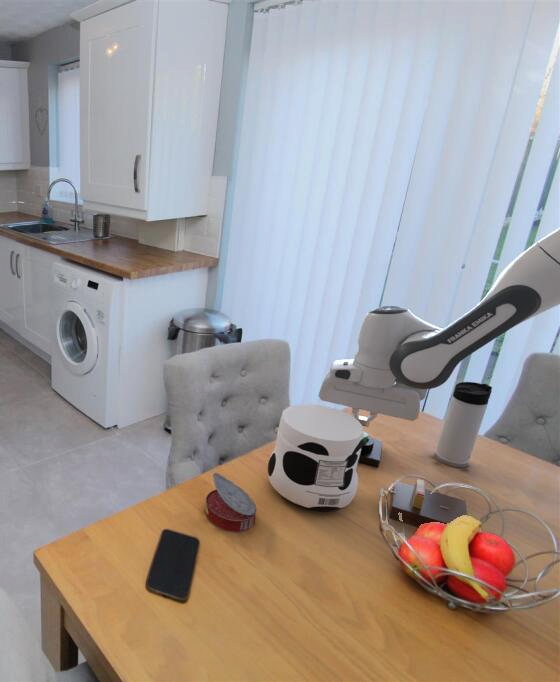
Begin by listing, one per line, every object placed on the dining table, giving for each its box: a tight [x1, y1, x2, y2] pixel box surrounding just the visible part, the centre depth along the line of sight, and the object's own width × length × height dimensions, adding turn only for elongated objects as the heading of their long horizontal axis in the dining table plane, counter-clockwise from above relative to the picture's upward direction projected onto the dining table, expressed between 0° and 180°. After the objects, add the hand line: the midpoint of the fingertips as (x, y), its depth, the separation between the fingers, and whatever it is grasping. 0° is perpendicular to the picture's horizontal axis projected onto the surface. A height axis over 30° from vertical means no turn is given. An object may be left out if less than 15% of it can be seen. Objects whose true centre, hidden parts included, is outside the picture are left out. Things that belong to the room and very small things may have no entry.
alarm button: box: [363, 430, 369, 443], centre depth 118 cm, size 4×4×2 cm
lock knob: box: [413, 478, 426, 509], centre depth 98 cm, size 6×1×3 cm, turn 144°
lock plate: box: [388, 480, 468, 528], centre depth 98 cm, size 13×10×3 cm
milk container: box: [267, 403, 364, 512], centre depth 103 cm, size 17×17×18 cm
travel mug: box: [433, 381, 493, 469], centre depth 112 cm, size 6×7×20 cm
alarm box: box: [358, 434, 383, 469], centre depth 119 cm, size 10×10×4 cm
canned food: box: [204, 472, 257, 533], centre depth 100 cm, size 11×10×10 cm
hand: (361, 424), depth 117 cm, fingers closed
